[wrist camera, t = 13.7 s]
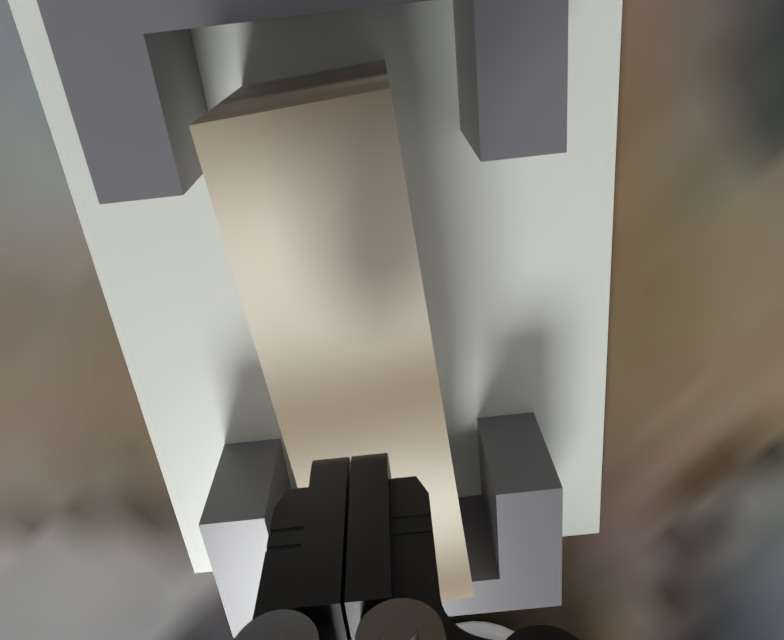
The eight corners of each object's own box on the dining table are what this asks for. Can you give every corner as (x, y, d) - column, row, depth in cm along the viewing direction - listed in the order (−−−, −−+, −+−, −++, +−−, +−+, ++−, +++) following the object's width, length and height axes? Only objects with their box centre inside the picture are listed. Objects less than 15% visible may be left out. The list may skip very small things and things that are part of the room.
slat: (241, 86, 18) (188, 125, 13) (384, 59, 18) (390, 88, 13) (344, 479, 25) (336, 616, 19) (451, 463, 24) (474, 596, 19)
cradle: (7, -61, 18) (-118, -77, 13) (615, -134, 17) (700, -177, 13) (200, 553, 27) (167, 664, 23) (591, 514, 27) (635, 619, 23)
